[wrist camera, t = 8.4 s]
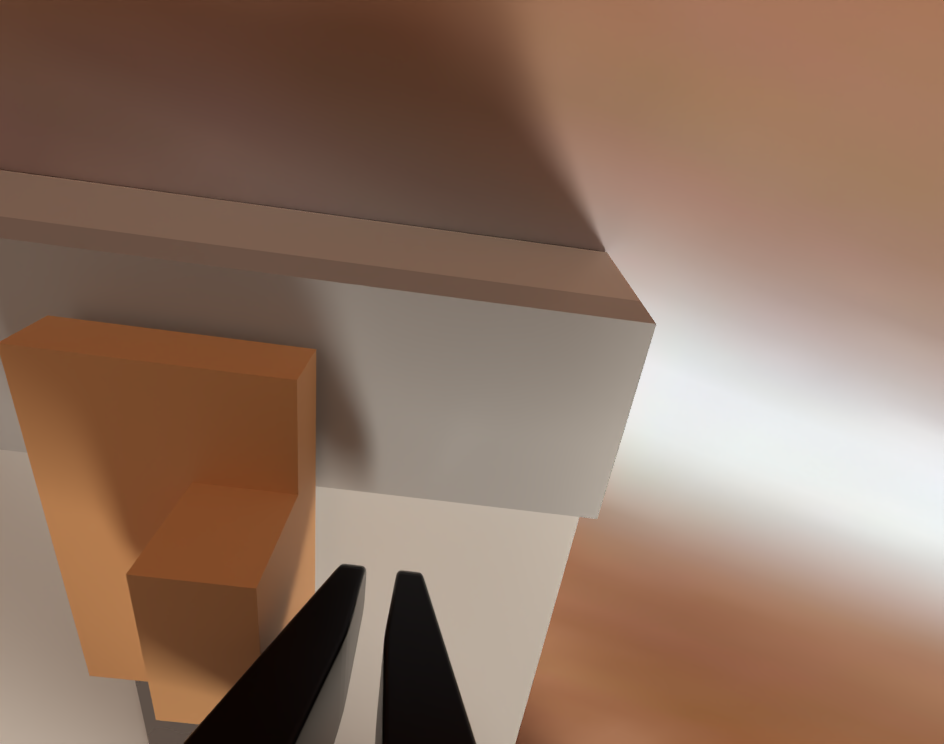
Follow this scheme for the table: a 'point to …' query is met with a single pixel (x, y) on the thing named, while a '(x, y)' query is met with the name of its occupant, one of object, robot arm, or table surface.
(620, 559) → the table surface
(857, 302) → the table surface
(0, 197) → the mount block
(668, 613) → the table surface
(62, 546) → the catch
